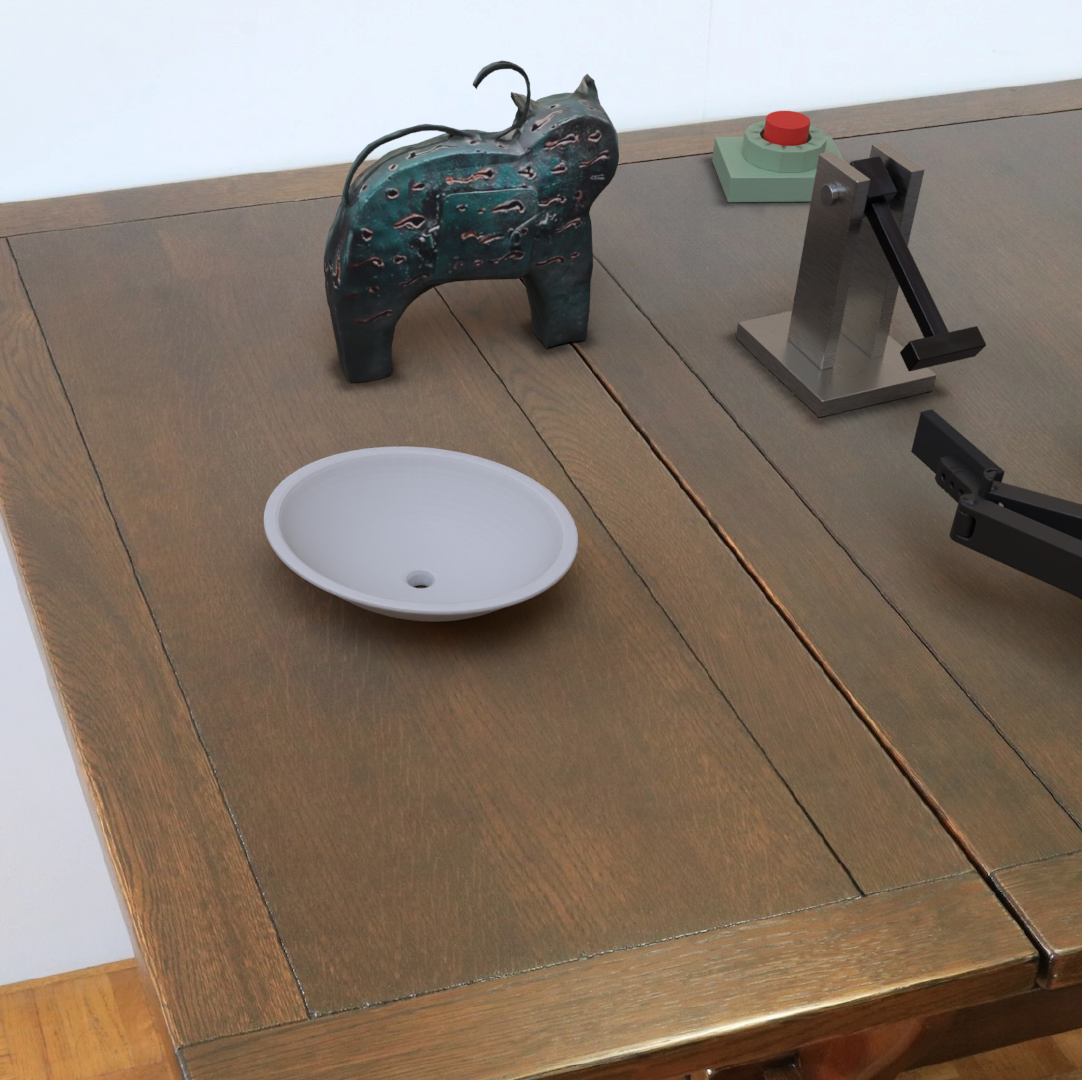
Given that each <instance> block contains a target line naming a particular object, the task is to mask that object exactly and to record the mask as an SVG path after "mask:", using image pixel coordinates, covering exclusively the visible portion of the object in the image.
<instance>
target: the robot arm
mask: <svg viewBox="0 0 1082 1080" xmlns="http://www.w3.org/2000/svg"><path fill="white" fill-rule="evenodd" d="M917 422H918V423H917V426H916V430H915V434H914V438H913V442H912V447H911V450H910V452H911V453H912V454H913V455H914V456H915V457H916V458H918V460H919V461H920V462H922V464H924V465H926V467H927V468H929V470H931V471H932V472H933V473H934V474H935V475H934V479H935V482H936V484H937V485H938V486H939V487H940V488H941V489H942V490H943V491H944V492H945V493H946V494H948V496H950V498H951V499H952V500H954V501H955V502H956V503H957V507H956V510H955V513H954V517H953V521H952V524H951V528H950V531H949V538H950V539H951V540H952V541H953V542H954V543H957V544H959V545H960V546H963V547H966V548H968V549H970V550H972V551H975V552H977V553H979V554H981V555H983V556H985V557H987V558H990V559H992V560H994V561H997V562H999V563H1001V564H1003V565H1006V566H1008V567H1010V568H1011V569H1014V570H1016V571H1018V572H1021V573H1023V574H1025V575H1027V576H1029V577H1032V578H1034V579H1036V580H1038V581H1040V582H1043V583H1045V584H1047V585H1050V586H1052V587H1054V588H1056V589H1058V590H1061V591H1063V592H1064V593H1067V594H1070V595H1072V596H1074V597H1076V598H1079V600H1081V601H1082V503H1078V502H1075V501H1071V500H1067V499H1064V498H1060V497H1056V496H1053V495H1049V494H1046V493H1042V492H1038V491H1034V490H1031V489H1029V488H1028V489H1027V488H1023V487H1021V486H1017V485H1012V484H1010V483H1007V482H1006V483H1005V482H1003V479H1004V475H1005V470H1003V469H1002V468H1001V467H1000V466H999V465H998V464H996V463H995V461H993V460H992V459H990V458H989V456H987V454H985V453H984V452H983V451H982V450H981V449H980V448H978V447H977V445H975V444H973V443H972V442H971V441H970V440H969V439H968V438H966V436H964V435H963V434H962V433H960V431H958V430H957V428H955V427H954V426H952V425H951V424H950V423H949V422H947V420H945V418H943V417H942V416H941V415H939V414H938V412H936V411H935V410H934V409H928V410H927V409H926V410H923V411H920V414H919V418H918V421H917ZM1000 504H1001V505H1000Z"/></svg>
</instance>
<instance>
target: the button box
mask: <svg viewBox="0 0 1082 1080" xmlns="http://www.w3.org/2000/svg"><path fill="white" fill-rule="evenodd" d="M765 121H766V119H764V120H761V121H757V122H754V123H751V124H750V125H749V126H748V127H747V128H746V129H745V130H744V135H743V136H714V140H713V141H714V143H713V148H712V149H713V150H712V157H711V161H712V164H713V167H714V170H715V172H716V175H717V178H718V180H719V182H720V185H721V188H722V191H723V194H724V196H725V198H726V202H727V203H811V198H812V192H813V186H814V180H815V175H816V169H817V163H818V157H819V154H821V153H826V152H833V153H835V154H836V155H837V156H839V157H840V158H842V159H843V160H844V161H845V159H844V158H843V156H842V154H841V152H840V150H839V148H838V146H837V144H836V142H835V141H834V139H833V137H832V136H831V135H825V132H824V131H823V130H822V129H820V128H817V127H816V126H814V125H812V124H810V128H809V134H808V140H807V143H806V144H802V145H799V146H782V145H777V144H772V143H770V142H768V141H766V140H764V139H763V134H764V127H765Z"/></svg>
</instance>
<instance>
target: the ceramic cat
mask: <svg viewBox="0 0 1082 1080" xmlns="http://www.w3.org/2000/svg"><path fill="white" fill-rule="evenodd" d="M500 70H513V71H514V72H517V73H518V74H520V75H521V76H522V78H524V81H525V86H526V95H525V94H521V93H518V92H513V91H510V98H511V100H512V103H514V105H515V107H516V108H517V110H516V113H515V117H514V119H513V121H512V123H511V125H510V126H508V127H507V128H505V129H503V130H499V131H485V130H480V129H470V128H469V129H468V128H465V129H458V128H455V127H450V126H448V125H447V126H446V125H441V124H430V123H422V124H416V125H414V126H410V127H406V128H401V129H398V130H395V131H393V132H391V133H388V134H385V135H383V136H381V137H379V138H377V139H376V140H373V141H372V142H370V143H369V144H366V146H365V147H364V148H363V149H362V150H361V151H360V152H359V154H358V155H357V156H356V158H355V159H354V161H353V163H352V164H351V166H350V168H349V171H348V173H347V176H346V179H345V182H344V186H343V189H342V192H341V193H342V194H341V199H340V200H341V202H340V203H339V206H338V208H337V211H336V214H335V216H334V218H333V222H332V223H331V226H330V228H329V230H328V234H327V237H326V238H327V239H326V243H325V249H324V254H323V274H324V289H325V295H326V302H327V306H328V309H329V314H330V321H331V326H332V328H333V329H332V330H333V335H334V341H335V345H336V351H337V357H338V358H337V359H338V363H339V366H340V367H341V370H342V371H343V372H344V373H345V376H346V378H347V380H348V382H350V383H359V382H360V383H361V382H370V381H375V380H381V379H384V378H387V377H389V376H391V375H392V374H393V369H394V366H393V344H394V338H395V336H394V335H395V331H396V326H397V325H398V322H399V321H400V319H401V318H402V316H403V315H404V313H405V312H406V310H407V309H408V307H410V305H411V304H412V303H413V302H414V301H416V300H417V299H418V298H419V297H420V296H422V295H423V294H425V293H427V292H428V291H430V290H431V289H433V288H436V287H438V286H439V287H440V286H442V285H445V284H449V283H457V282H470V281H494V280H495V281H498V280H501V281H502V280H519V279H521V281H522V282H523V286H524V287H525V292H526V295H527V299H528V300H527V301H528V304H529V309H530V319H531V329H532V331H533V333H534V335H535V336H536V337H537V338H538V339H539V340H540V341H541V343H542V344H543V345H544V347H545V349H548V348H553V347H557V346H559V345H562V344H568V343H573V342H584V341H586V339H587V336H588V329H589V327H588V326H589V319H590V318H589V317H590V308H591V287H592V285H591V284H592V277H593V276H592V275H593V269H594V252H593V251H594V250H593V233H592V232H593V226H592V219H591V215H590V213H591V212H590V211H591V208H592V206H593V203H594V202H595V201H596V200H597V199H598V198H599V196H600V195H601V193H602V192H603V191H604V190H605V189H606V188H607V187H608V186H609V185H610V183H612V180H613V178H614V177H615V176H616V173H617V169H618V166H619V161H620V149H619V137H618V132H617V129H616V127H615V126H614V124H613V122H612V120H611V118H610V117H609V115H608V113H607V112H606V110H605V108H604V107H603V106H602V105H601V101H600V99H599V93H598V88H597V86H596V82H595V79H594V78H592V77H591V75H589V74H588V73H586V74H585V75H584V76H583V77H582V79H581V81H580V83H579V85H578V86H577V87H576V89H575V90H574V91H573V92H561V93H554V94H551V95H547V96H543V97H541V98H540V97H539V98H538V99H537V100H534V99H532V97H531V95H532V94H531V93H532V92H531V82H530V79H529V76H528V74H527V72H526V71H525V69H524V68H522V67H521V66H520V65H518V64H516V63H513V62H511V61H508V60H497V61H493V62H491V63H489V64H487V65H484V66H483V67H482V68H481V69H480V70H479V72H478V73H477V74H476V76H475V77H474V79H473V81H472V86H473V88H475V90H478V87H479V85H480V84H481V83H482V82H483V81H484V80H485V78H487V77H488V76H489V75H490V74H492V73H494V72H496V71H500ZM430 131H431V132H432V131H433V132H440V133H441V132H442V134H439V135H436V136H434V137H431V138H428V139H425V140H423V141H420V142H417V143H413V144H408V145H404V146H400V147H397V148H395V149H393V150H389V151H388V152H386V153H384V154H383V155H382V156H381V157H380V158H378V160H376V161H375V162H373V163H372V164H371V165H369V166H367V167H366V168H365V169H364V170H362V172H361V173H359V174H358V175H357V176H356V178H355V179H354V180H353V178H354V175H355V174H356V173H357V171H358V169H359V168H360V166H361V165H362V164H363V163H364V162H365V160H366V159H367V158H368V157H369V155H370V154H372V153H373V152H374V151H375V150H376V149H378V148H379V147H381V146H383V145H385V144H387V143H389V142H392V141H395V140H398V139H401V138H403V137H407V136H408V135H411V134H416V133H420V132H430ZM352 181H353V182H352Z"/></svg>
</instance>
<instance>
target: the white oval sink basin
mask: <svg viewBox="0 0 1082 1080" xmlns="http://www.w3.org/2000/svg"><path fill="white" fill-rule="evenodd" d="M263 530H264V533H265V535H266V538H267V540H268V542H269V544H270V547H271V549H272V550H273V551H274V553H275V555H276V556H277V557H278V558H279V559H280V560H281V561H282V562H283V564H284V565H285V566H287V567H288V568H289V569H290V570H291V571H292V572H294V573H295V574H296V575H298V576H299V577H300V578H301V579H302V580H305V581H307V582H308V583H310V584H311V585H312V586H315V587H316V588H319V589H321V590H322V591H324V592H327V593H329V594H331V595H334V596H336V597H338V598H339V599H342V600H344V601H346V602H347V603H350V604H351V605H354V606H356V607H360V608H361V609H364V610H367V611H369V612H372V613H376V614H378V615H379V614H380V615H382V616H385V617H391V618H395V619H401V620H407V621H415V622H451V621H461V620H465V619H471V618H476V617H480V616H485V615H487V614H490V613H494V612H496V611H499V610H501V609H504V608H508V607H512V606H514V605H518V604H521V603H524V602H525V601H528V600H530V599H531V600H532V599H533V598H535V597H537V596H539V595H540V594H542V593H544V592H547V590H549V589H550V588H552V587H554V586H555V585H556V584H558V582H559V581H561V580H562V579H563V577H564V576H565V575H566V574H567V573H568V572H569V570H570V569H571V567H572V565H573V563H574V562H575V559H576V557H577V554H578V549H579V533H578V528H577V525H576V523H575V521H574V518H573V516H572V514H571V512H570V511H569V510H568V508H567V507H566V505H565V503H563V502H562V501H561V500H560V499H559V498H558V496H556V495H555V494H554V493H553V492H552V491H551V490H549V489H548V488H547V487H545V486H544V485H542V484H541V483H540V482H538V481H537V480H535V479H533V478H532V477H530V476H528V475H526V474H525V473H522V472H521V471H519V470H516V469H514V468H512V467H510V466H507V465H504V464H502V463H500V462H497V461H494V460H490V459H487V458H485V457H481V456H477V455H474V454H470V453H464V452H460V451H455V450H449V449H444V448H443V449H442V448H436V447H427V446H426V447H424V446H409V445H408V446H407V445H406V446H403V445H401V446H397V445H394V446H377V447H368V448H359V449H353V450H347V451H343V452H340V453H336V454H332V455H329V456H326V457H323V458H320V459H316V460H315V461H313V462H310V463H308V464H306V465H304V466H302V467H300V468H298V469H296V470H295V471H293V472H292V473H290V474H289V475H287V476H286V477H285V478H284V479H283V480H281V481H280V483H279V484H277V486H276V487H275V488H274V489H273V490H272V492H271V494H270V496H269V497H268V500H267V502H266V504H265V507H264V511H263ZM416 586H417V587H416ZM418 586H425V587H418Z"/></svg>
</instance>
